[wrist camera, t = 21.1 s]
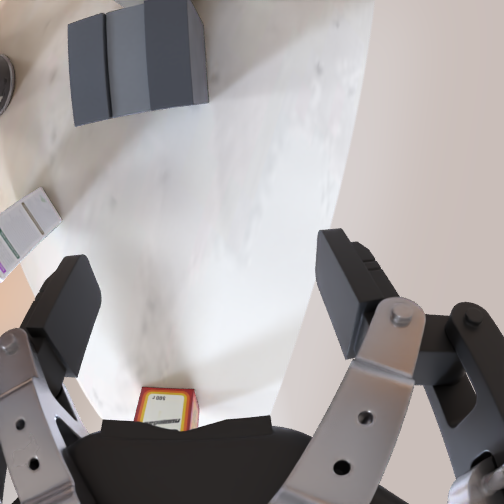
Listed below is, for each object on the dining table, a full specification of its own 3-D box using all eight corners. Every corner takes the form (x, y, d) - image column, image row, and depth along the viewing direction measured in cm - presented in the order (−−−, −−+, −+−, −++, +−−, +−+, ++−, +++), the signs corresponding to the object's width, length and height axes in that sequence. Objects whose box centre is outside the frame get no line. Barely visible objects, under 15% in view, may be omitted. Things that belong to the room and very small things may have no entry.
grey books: (121, 116, 30) (72, 127, 20) (115, 41, 26) (65, 23, 16) (208, 102, 30) (193, 105, 20) (203, 24, 26) (186, -8, 16)
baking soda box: (151, 407, 53) (137, 479, 39) (142, 387, 50) (124, 463, 36) (199, 409, 53) (193, 484, 39) (193, 389, 50) (185, 470, 36)
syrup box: (41, 184, 33) (-31, 231, 20) (64, 221, 36) (2, 281, 23) (18, 206, 34) (-49, 257, 21) (40, 240, 37) (-19, 300, 24)
